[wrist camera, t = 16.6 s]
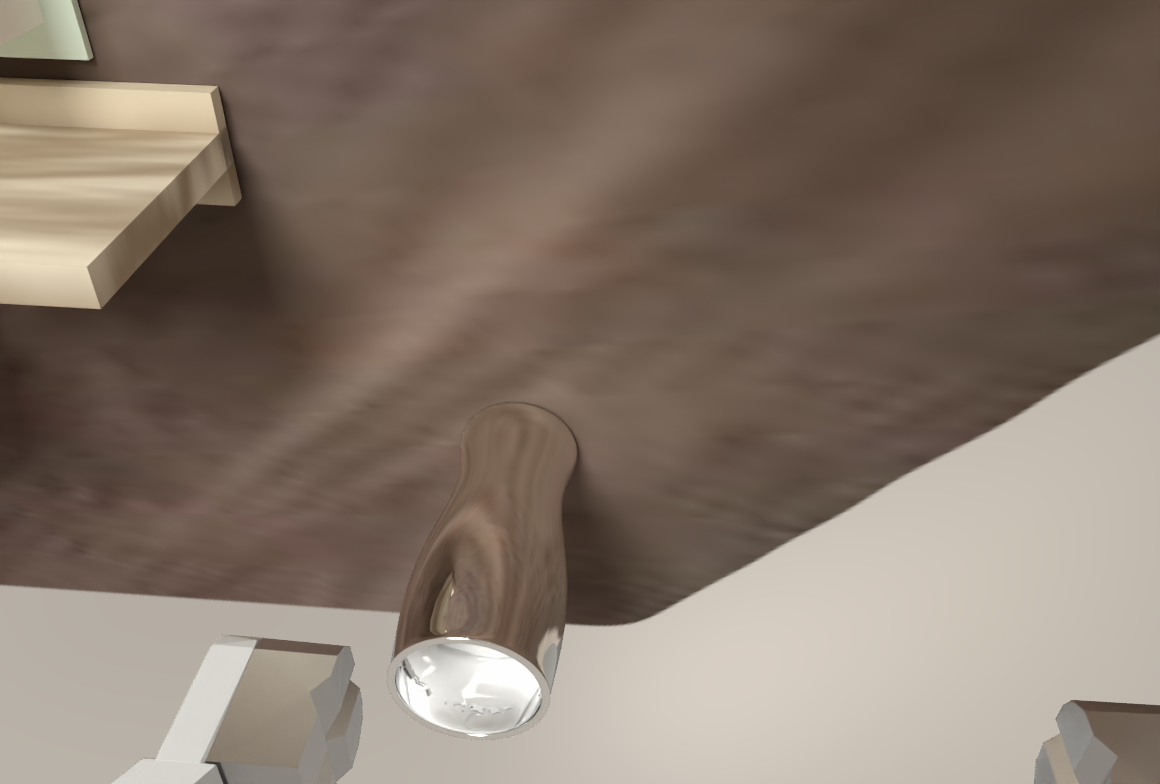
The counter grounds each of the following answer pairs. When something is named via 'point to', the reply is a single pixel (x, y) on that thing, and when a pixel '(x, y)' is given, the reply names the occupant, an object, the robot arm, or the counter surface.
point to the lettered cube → (18, 18)
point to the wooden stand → (101, 181)
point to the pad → (53, 35)
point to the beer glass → (490, 583)
